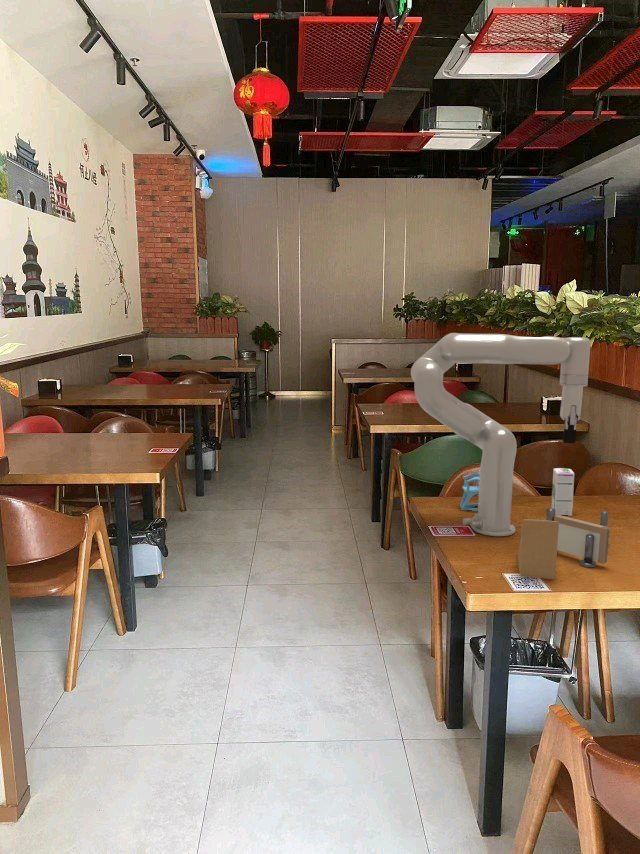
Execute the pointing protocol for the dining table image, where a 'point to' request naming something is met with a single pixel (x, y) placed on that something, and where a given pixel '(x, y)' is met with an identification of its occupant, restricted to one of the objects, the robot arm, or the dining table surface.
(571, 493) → the syrup box
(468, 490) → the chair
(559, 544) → the panel
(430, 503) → the dining table surface
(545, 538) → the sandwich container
